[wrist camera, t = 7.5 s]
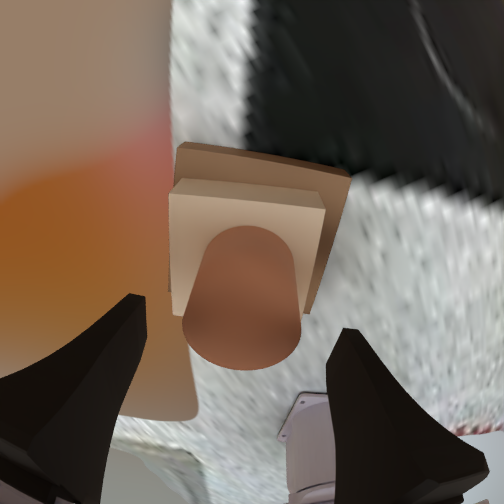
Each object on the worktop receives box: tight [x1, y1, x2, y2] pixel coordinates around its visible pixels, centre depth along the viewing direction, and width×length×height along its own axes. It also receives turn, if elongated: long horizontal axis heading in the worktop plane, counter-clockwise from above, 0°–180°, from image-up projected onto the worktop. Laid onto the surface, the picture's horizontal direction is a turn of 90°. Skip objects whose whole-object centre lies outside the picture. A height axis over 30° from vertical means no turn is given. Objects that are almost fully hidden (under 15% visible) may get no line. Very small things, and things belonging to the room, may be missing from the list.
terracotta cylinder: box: [182, 226, 301, 370], centre depth 14 cm, size 4×4×4 cm
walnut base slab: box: [168, 142, 352, 314], centre depth 19 cm, size 9×9×2 cm
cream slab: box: [168, 178, 326, 320], centre depth 17 cm, size 7×7×2 cm
